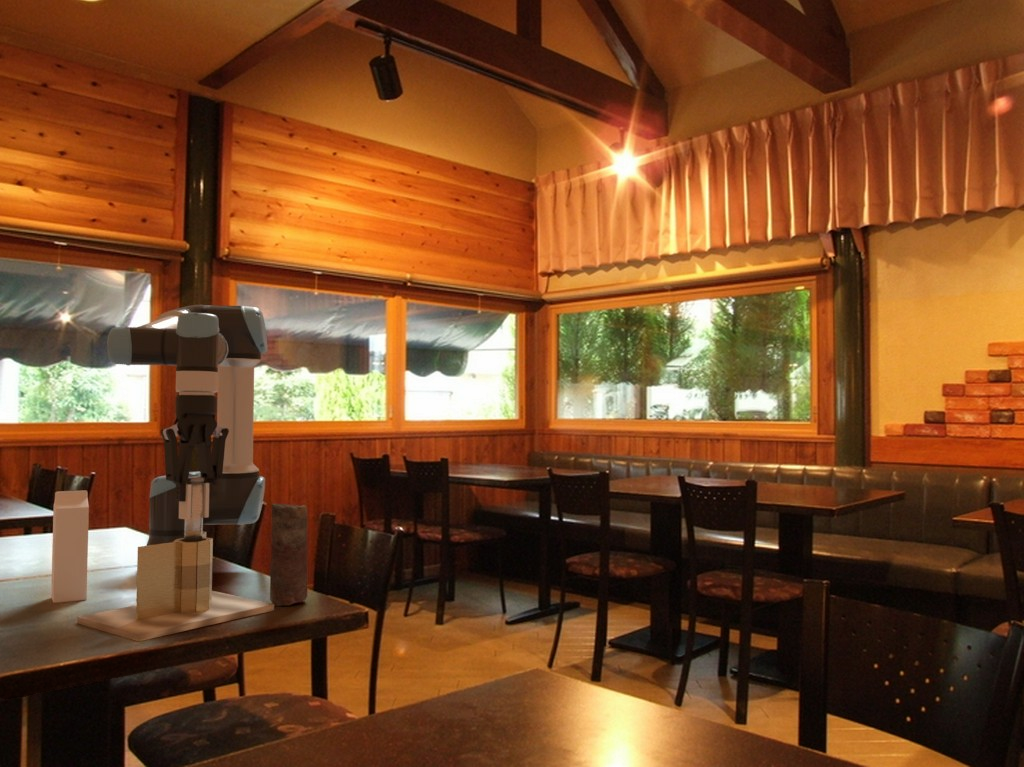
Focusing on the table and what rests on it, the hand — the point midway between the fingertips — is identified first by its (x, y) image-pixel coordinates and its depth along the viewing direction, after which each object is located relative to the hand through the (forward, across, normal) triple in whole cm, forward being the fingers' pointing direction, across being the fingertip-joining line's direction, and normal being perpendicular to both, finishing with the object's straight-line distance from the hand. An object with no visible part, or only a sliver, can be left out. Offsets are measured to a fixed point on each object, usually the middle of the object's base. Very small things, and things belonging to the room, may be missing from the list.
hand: (193, 517), depth 159 cm
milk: (+19, +7, -32) cm, 38 cm away
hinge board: (+18, +2, -1) cm, 18 cm away
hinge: (+17, +1, -2) cm, 17 cm away
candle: (+19, -18, +6) cm, 27 cm away
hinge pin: (+6, 0, 0) cm, 6 cm away
